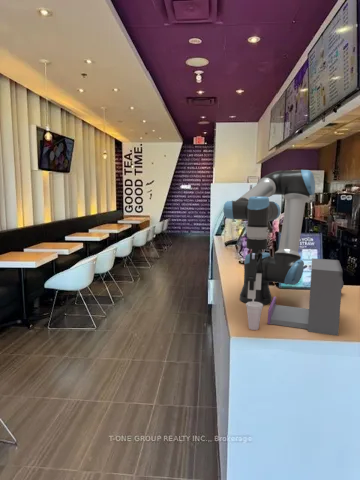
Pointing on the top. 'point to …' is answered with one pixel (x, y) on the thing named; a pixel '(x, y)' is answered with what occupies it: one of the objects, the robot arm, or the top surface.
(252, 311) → the smoothie
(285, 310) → the sealer tray
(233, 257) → the top surface
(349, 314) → the top surface
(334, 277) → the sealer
